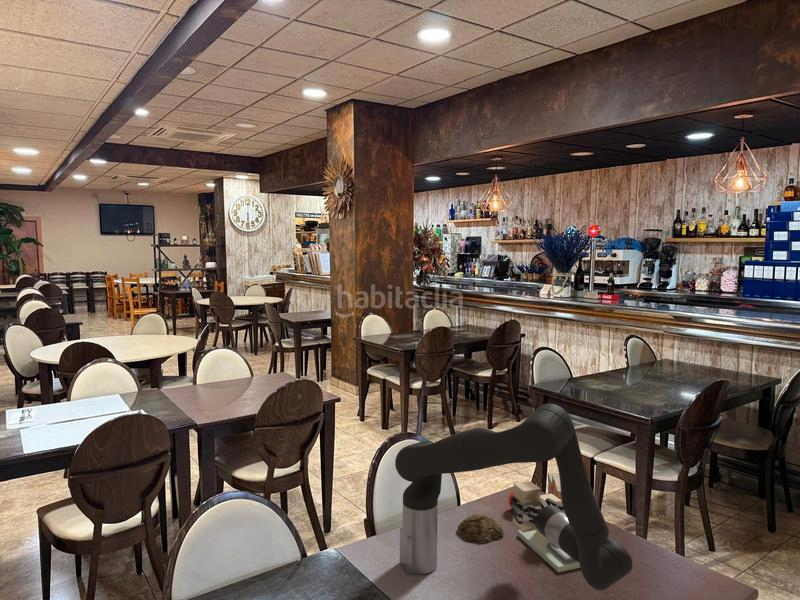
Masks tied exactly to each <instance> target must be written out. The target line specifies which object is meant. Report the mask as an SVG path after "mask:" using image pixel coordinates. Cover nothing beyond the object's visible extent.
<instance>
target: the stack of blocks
mask: <svg viewBox="0 0 800 600" xmlns="http://www.w3.org/2000/svg"><path fill="white" fill-rule="evenodd" d="M547 494H553V495H554V496H556V497H557V498H559V499H560V500H561V501H562V497H561V487H560V477H559V472H550V471H549V472H547ZM562 505H563V504H562Z"/></svg>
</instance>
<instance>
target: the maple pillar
mask: <svg viewBox="0 0 800 600" xmlns="http://www.w3.org/2000/svg"><path fill="white" fill-rule="evenodd" d="M512 491H513V496H514V497H515V498H517V499H518V500H519V501H520V502H522V503H523V504H526V503H528V504H531V505H533V506H538V505H540V495H542V493H541V492H542V491H541V487H539V486H538V485H536V484H535V483H533V482H532V481H531V480H528V481H521V482H515V483H513V490H512ZM522 510H523V507H522ZM512 524H513V526H515V528H517V529H518V530H520V531H522V532H528V531H534V530H537V528H536V526H535V525H534V524H533V523H530V522H529V521H523V524H518V522H517V521H516V519H515V518H514V516H513V515H512Z"/></svg>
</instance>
